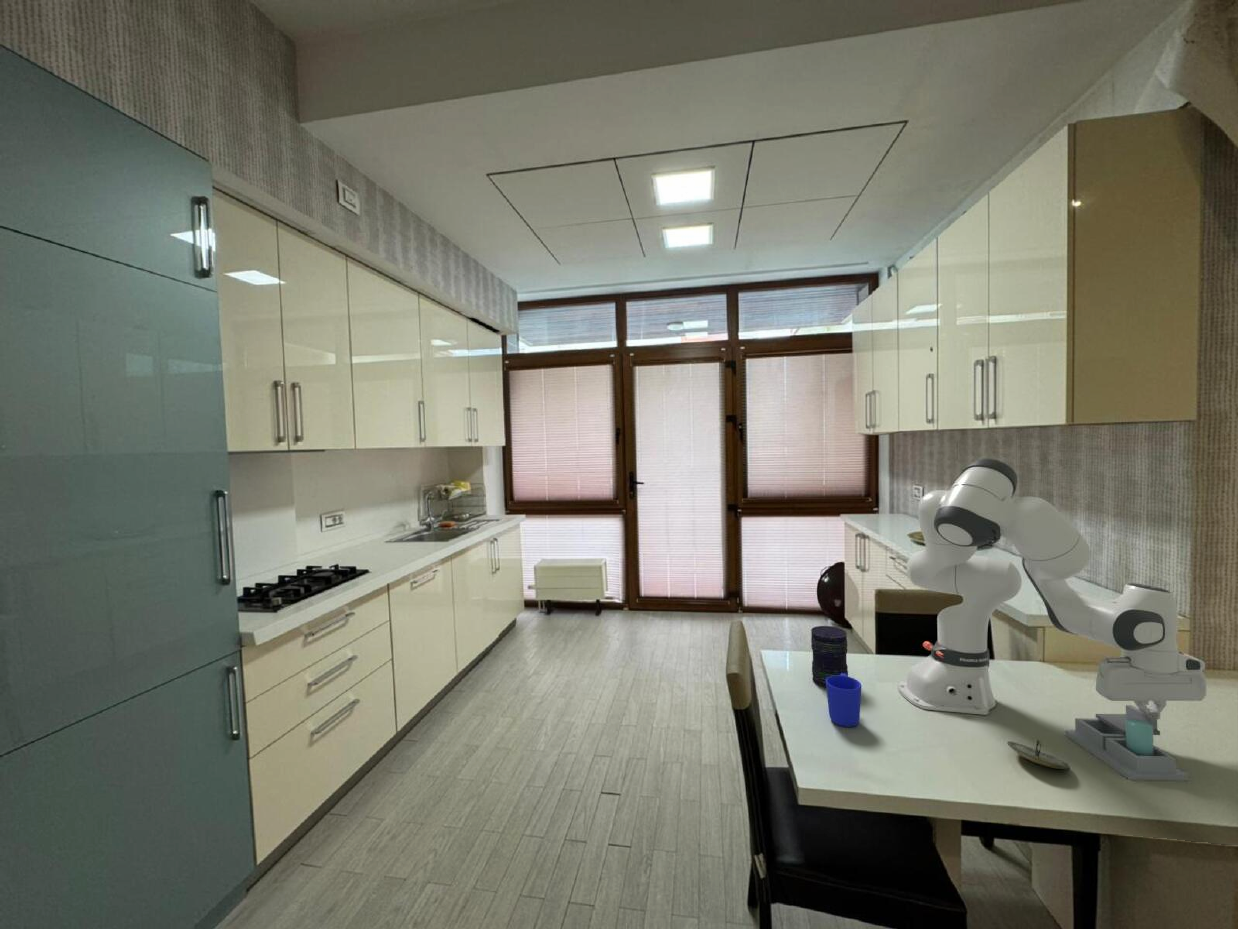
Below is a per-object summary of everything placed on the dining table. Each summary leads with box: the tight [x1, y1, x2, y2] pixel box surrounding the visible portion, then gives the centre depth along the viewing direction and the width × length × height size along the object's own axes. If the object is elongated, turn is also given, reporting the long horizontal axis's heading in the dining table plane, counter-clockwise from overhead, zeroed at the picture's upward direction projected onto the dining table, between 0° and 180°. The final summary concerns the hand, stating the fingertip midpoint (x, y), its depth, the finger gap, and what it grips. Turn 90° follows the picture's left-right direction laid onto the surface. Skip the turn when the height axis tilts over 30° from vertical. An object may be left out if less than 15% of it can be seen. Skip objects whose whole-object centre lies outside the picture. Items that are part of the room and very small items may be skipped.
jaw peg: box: [1126, 718, 1154, 756], centre depth 105 cm, size 4×4×8 cm
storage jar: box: [810, 625, 849, 689], centre depth 148 cm, size 10×10×15 cm
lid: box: [1006, 739, 1071, 771], centre depth 107 cm, size 11×10×5 cm
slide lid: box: [1095, 704, 1161, 736], centre depth 113 cm, size 7×7×3 cm
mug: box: [825, 673, 862, 728], centre depth 128 cm, size 8×12×10 cm
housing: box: [1064, 717, 1189, 782], centre depth 109 cm, size 16×11×4 cm
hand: (1149, 718), depth 113 cm, fingers closed
